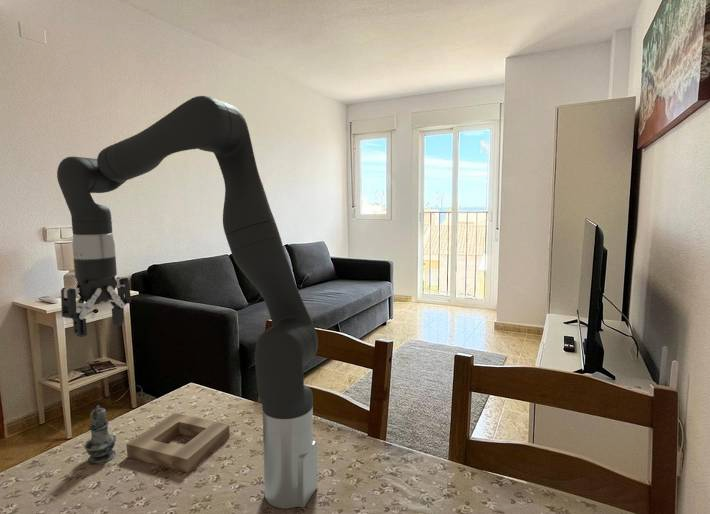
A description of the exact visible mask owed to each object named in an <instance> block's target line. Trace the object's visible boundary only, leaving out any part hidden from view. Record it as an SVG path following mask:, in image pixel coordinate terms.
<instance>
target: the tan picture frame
mask: <svg viewBox="0 0 710 514" xmlns="http://www.w3.org/2000/svg"><path fill="white" fill-rule="evenodd" d="M179 434H180V435H184V436H188V437H192V439H190V440H189V441H188V442H186V443H185V444H184V445H183V446H179V445H174V444H170V443H169V442H170V441H171V440H172V439H174V438H176V437H177V436H178V435H179ZM230 434H231V433H230V424H228V423H222V422H219V421H215V420H211V419H210V420H208V419H206V418H200V417H196V416H191V415H186V414H181V413H178V412H173V413H172V414H170V415H168V417H166V418H164V419H163V420H161V421H159V422H157V423H156V424H155V425H153V426H151V428H148V429H147V430H145V431H144V432H143V433H141V434H140V435H138V436H137V437H134V439H132V440H130V441H129V442H127V443H126V455H127V457H128V458H131V459H135V460H138V461H141V462H145V463H149V464H153V465H157V466H161V467H163V468H167V469H172V470H175V471H180V472H183V473H187V474H188V473H189V472H191V471H192V470H193V469H194V468H196V467H197V466H198V465H199V464H200V463H201V462H202V461H204V459H206V458H207V457H209V455H210V454H212V452H214V451H215V450H216V449H217V448H218V447H220V446H221V445H222V444H223V443H224V442H226V440H228V438H230Z"/></svg>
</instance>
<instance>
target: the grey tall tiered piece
mask: <svg viewBox="0 0 710 514" xmlns="http://www.w3.org/2000/svg"><path fill="white" fill-rule="evenodd" d="M89 415H90V424H91V425H89V430H90V431H91V432H90V433H91V436H90V437H91V438H90V439H89V440H88V441H86V442H85V443H84V445H83V447H84V449H85V450H86V452H87V454H88V455H89V456H88V458H87V459H86V461H87V462H86V463H87V464H88V465H90V466H100V465H103V464H106V463H108V462H111V460H113V459H114V458H115V457H116V455H117V452H116V451H115V450H113V449H114V447H115V444H116V441H117V437H116V435H114V434H110V433H109V430H108V429H109V428H108V426H109V425H110V423H109V421H108V419H107V412H106V409H105V408H104V407H100V405H99V404H97V405H96V406H95V408H94V409H93V410H92V411H91V412H90V414H89Z"/></svg>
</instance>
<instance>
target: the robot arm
mask: <svg viewBox="0 0 710 514" xmlns="http://www.w3.org/2000/svg"><path fill="white" fill-rule="evenodd" d="M249 131H250V130H249V126H248V124H247V121H246V118H245V117H244V114H243V113H242V112H241V111H240V110H239V109H238V108H237V107H235V106H234V105H232V104H230V103H227V102H225V101H222V100H220V99H217V98H214V97H211V96H206V95H199V96H194V97H192V98H190V99H188V100H186V101H185V102H183V103H181V104H180V105H178V106H177V107H176V108H173V110H172V111H170V112H169V113H168V114H166V115H164V116H163V117H161V118H160V119H158V120H157V121H156V122H154V123H153V124H151V125H150V126H148V127H147V128H145V129H143V130H142V131H140V132H137V134H134V135H131V136H129V137H127V138H125V139H123V140H120V141H118V142H116V143H114V144H112V145H111V144H110V145H109V146H107V147H105V148H103V149H102V150H101V151H100V152H99V153H98V154H97V158H89V157H81V156H67V157H64V158H63V159H62V160H61V161H60V163H59V164H58V167H57V169H56V170H57V171H56V175H57V176H56V178H57V183H58V185H59V188H60V190H61V193H62V196H63V198H64V200H65V203H66V206H67V207H68V211H69V212H70V216H71V218H70V219H71V227H72V228H71V229H72V242H71V243H72V245H71V247H72V256H73V257H72V258H73V270H74V277H75V279H76V282H77V284H76V286H75V287H63V288H61V289H60V297H61V298H60V299H61V305H60V306H61V317H63V318H66V319H72V322H73V323H72V325H73V333H74V334H75V335H76V337H81V338H84V337H86V336H88V330H87V328H88V327H87V318H86V316H87V314H88V312H89V311H90V310H91V309H93V306H94V305H98V304H99V305H100V303H102V302H103V303H106V302H107V303H109V304H110V305H111V307H112V308H111V316H112V319H111V320H112V324H113V326H114V325H115V326H121V325H123V324H124V319H125V316H124V308H125V306H126V305H127V304H131V303H132V296H131V295H132V294H131V288H130V287H131V286H130V280H129V278H128V277H124V276H123V277H122V276H121V277H119V276H117V274H118V273H117V256H116V244H115V240H114V234H113V220H112V214H111V210H110V208H109V207H108V206H106V205H103V204H98V203H96V202H95V200H94V199H93V196H92V194H104V193H110V192H113V191H115V190H117V189H118V188H119V187H121V186H122V185H123V184H125V183H126V182H127V181H128V180H132V179H135V178H137V177H140V176H142V175H145V174H147V173H150V172H151V171H152V170H154V169H155V168H157V167H158V166H159V165H160V164H161V162H163V160H164V159H165V158H167V157H168V156H170V155H173V154H176V153H180V152H185V151H192V150H200V151H204V152H209V153H213V154H214V156H215V159H216V160H217V163H218V165H219V169H220V172H221V174H222V178H223V182H224V189H225V190H224V203H223V208H222V209H223V210H222V226H223V231H224V234H225V238H226V241H227V245H228V247H229V249H230V253H231V256H232V258H233V260H234V263H235V264H236V265H237V267H238V268H239V269H240V271H241V273H243V275H244V276H245V278H247V280H249V282H250V283H251V284H252V286H254V288H255V289H256V290H257V291H258V293H259V294H260V296H261V298H262V299H263V300H264V303H265V305H266V308H267V311H268V314H269V316H270V320H271V324H272V326H271V327H269V328H267V329H266V330H264V331H263V332H262V333H261V334H260V335H259V336H258V339H257V340H256V344H255V351H254V361H255V362H254V363H255V365H254V366H255V377H256V387H257V394H258V396H259V399H260V401H261V404H262V405H261V406H262V407H261V408H262V412H261V413H262V445H263V446H262V448H263V449H262V450H263V453H262V454H263V479H264V480H263V481H264V482H263V486H264V487H263V488H264V490H263V491H264V498H265V501H266V502H267V503H268V504H269V505H271V506H272V507H275V508H278V509H292V508H293V509H294V508H296V507H299V508H302V509H303V508H305V507H306V505H307V503H308V502H309V500H310V499H311V498H312V496H313V495H314V493H315V491H316V490H317V488H318V442H317V441H316V440H314V427H313V426H314V424H313V423H314V421H313V419H314V416H313V415H314V411H313V410H314V409H313V408H314V395H313V391H312V389H311V388H310V387H309V386H307V385H306V384H305V383H304V380H305V379H304V367H305V366H306V365H307V364H308V363H310V361H312V360H313V359H314V357H315V356H316V355H317V351H318V348H319V338H318V337H319V336H318V333H317V330H316V328H315V324H314V323H313V321H312V318H311V315H310V314H309V312H308V309H307V306H306V305H305V303H304V301H303V298H302V297H301V295H300V292H299V290H298V286H297V284H296V281H295V278H294V275H293V272H292V269H291V267H290V266H291V265H290V263H289V260H288V257H287V255H286V251H285V248H284V246H283V241H282V238H281V235H280V232H279V229H278V226H277V223H276V221H275V218H274V215H273V212H272V209H271V206H270V203H269V201H268V196H267V194H266V191H265V188H264V185H263V182H262V180H261V176H260V174H259V169H258V167H257V162H256V158H255V154H254V149H253V143H252V139H251V134H250V132H249ZM116 276H117V277H116ZM115 290H117V292H116V291H115ZM84 302H85V303H84Z"/></svg>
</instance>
